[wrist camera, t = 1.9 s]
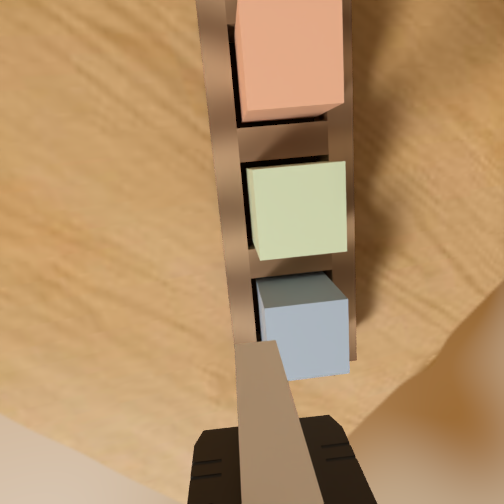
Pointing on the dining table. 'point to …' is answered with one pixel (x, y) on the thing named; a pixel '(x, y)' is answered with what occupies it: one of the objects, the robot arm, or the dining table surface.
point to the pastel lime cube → (298, 209)
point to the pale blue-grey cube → (305, 323)
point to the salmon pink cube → (288, 58)
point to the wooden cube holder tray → (268, 148)
